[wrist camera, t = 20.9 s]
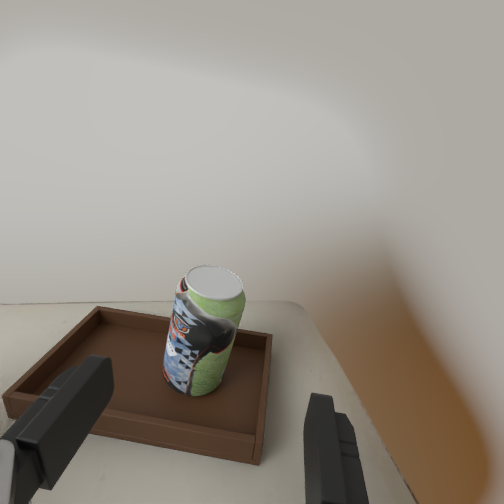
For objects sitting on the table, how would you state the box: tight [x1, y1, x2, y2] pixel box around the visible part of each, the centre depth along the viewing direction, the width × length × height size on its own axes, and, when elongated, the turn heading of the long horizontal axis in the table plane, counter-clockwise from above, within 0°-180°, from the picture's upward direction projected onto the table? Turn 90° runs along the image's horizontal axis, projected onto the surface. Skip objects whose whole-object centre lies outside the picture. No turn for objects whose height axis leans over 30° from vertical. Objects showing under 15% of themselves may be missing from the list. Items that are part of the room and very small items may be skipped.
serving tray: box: [2, 306, 272, 466], centre depth 30 cm, size 21×13×3 cm, turn 83°
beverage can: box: [162, 265, 246, 396], centre depth 28 cm, size 6×7×12 cm
